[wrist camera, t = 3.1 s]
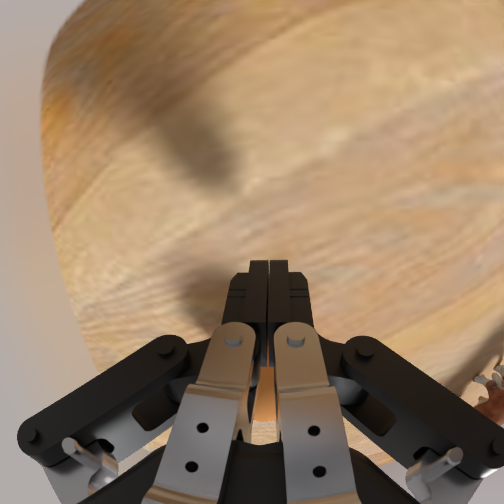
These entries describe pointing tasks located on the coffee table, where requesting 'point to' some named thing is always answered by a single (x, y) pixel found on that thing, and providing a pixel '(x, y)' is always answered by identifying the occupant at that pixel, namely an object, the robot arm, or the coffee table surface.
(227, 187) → the coffee table surface
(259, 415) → the ball
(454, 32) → the coffee table surface
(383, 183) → the coffee table surface
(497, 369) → the bull figurine
